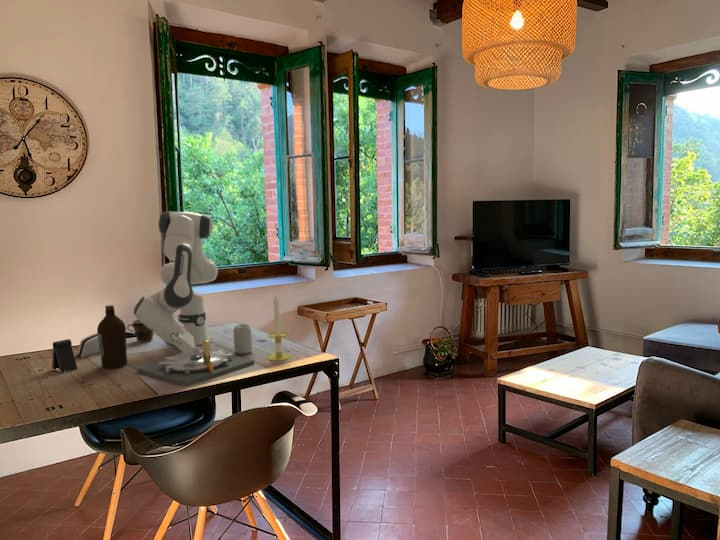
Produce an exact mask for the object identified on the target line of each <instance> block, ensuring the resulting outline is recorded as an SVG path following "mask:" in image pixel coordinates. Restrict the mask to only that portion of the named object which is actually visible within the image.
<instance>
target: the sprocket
mask: <svg viewBox="0 0 720 540" xmlns="http://www.w3.org/2000/svg"><path fill="white" fill-rule="evenodd" d="M210 342H211V341H209V340H203V341H202V344H201V349H200V350H201V351H202V355H201V356H198V355H196V354H195V353H193V352H192V353H191V354H190V355H186V354H185V353H183V352H182V351H181V352H180V354H175V355H173V356H166V357H163V359H164V360H163V361H164V362H162V361H160V362H161V363H159V362H158V363H159V368H160V369H163V368H165V369H166V373H172V372H178V373H185V374H190V373H191V372H200V371H206V370H207V371H209V362H213V369H214V368H218V367H220V366H222V365H224V366H227V365H229V360H232V356H233V355H232V353H227V354H226V353H225V352H224V350H223V349H222V350H221V349H219V350H216V351H215V350H211V345H210V344H211V343H210Z"/></svg>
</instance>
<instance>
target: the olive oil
mask: <svg viewBox="0 0 720 540" xmlns="http://www.w3.org/2000/svg"><path fill="white" fill-rule="evenodd" d="M115 313H116V312H115V306H114V305H109V304H108V305H105V316H104V317H103V318H102V319H101V321H100V322H98V326H97V328H96V329H97V332H96V333H97V334H98V340H99V347H100V352H99V354H100V360H101V361H100V362H101V368H102V369H105V370H106V369H107V370H112V369H113V370H114V369H119V368H122V367H123V368H124V367H125V366H127V365H128V358H127V357H128V356H127V355H128V354H127V334H126V333H127V330H126V329H127V326H126V324H125V322H124V321H123V319H121V318H120V317H119V316H117V315H116V314H115Z"/></svg>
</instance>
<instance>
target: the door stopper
mask: <svg viewBox="0 0 720 540" xmlns="http://www.w3.org/2000/svg"><path fill="white" fill-rule="evenodd" d="M72 345H73V344H72V340H71V339H63V340H58V341H54V342H52V362H51V369H52V368H53V369H56V368H59V369H60V371H61V372H64V371H68V370H73V371H75V370H74V369H77V370H78V366H77V363H76V358H75V355H74V351H73V346H72Z"/></svg>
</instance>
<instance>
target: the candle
mask: <svg viewBox="0 0 720 540" xmlns="http://www.w3.org/2000/svg"><path fill="white" fill-rule="evenodd" d="M273 314H274V315H273V316H274V331H275V332H271V333H269V334H268V335H267V337H268V338H270V339H271V338H272V339H274V340H275V341H274V343H275V344H274V345H275V353H274V354H271V355H268V356H267V357H266V359H267V360H268V361H271V362H272V361H273V362H279V361H287V360H289V359H291V357H292V355H291V354H289V353H283V349H282V348H283V347H282V344H283V343H282V338H286V337H288V335H289V333H288V332H286V331H285V332H283V331H281V317H280V315H281V314H280V300H279V299H278V295H277V294H275V297H274V299H273Z"/></svg>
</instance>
